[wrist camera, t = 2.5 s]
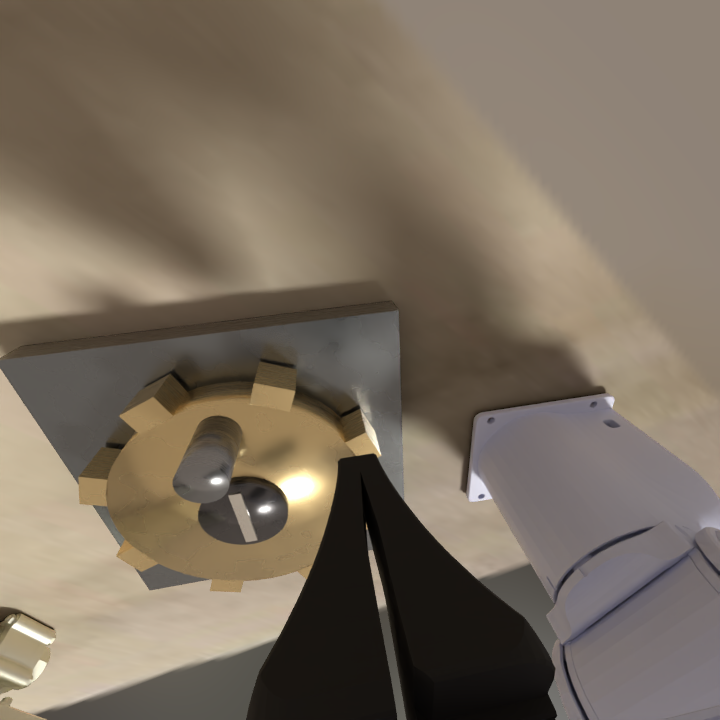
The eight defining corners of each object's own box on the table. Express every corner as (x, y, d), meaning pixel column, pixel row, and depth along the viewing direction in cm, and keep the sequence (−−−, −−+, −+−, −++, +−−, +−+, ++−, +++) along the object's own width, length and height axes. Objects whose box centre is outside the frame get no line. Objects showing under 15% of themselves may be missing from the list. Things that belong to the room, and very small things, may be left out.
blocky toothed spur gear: (382, 535, 24) (399, 616, 19) (164, 575, 22) (129, 670, 18) (368, 347, 17) (389, 405, 12) (51, 389, 15) (-52, 471, 11)
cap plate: (391, 300, 17) (398, 310, 16) (400, 525, 26) (405, 543, 25) (21, 346, 16) (-5, 360, 15) (158, 568, 24) (149, 590, 23)
